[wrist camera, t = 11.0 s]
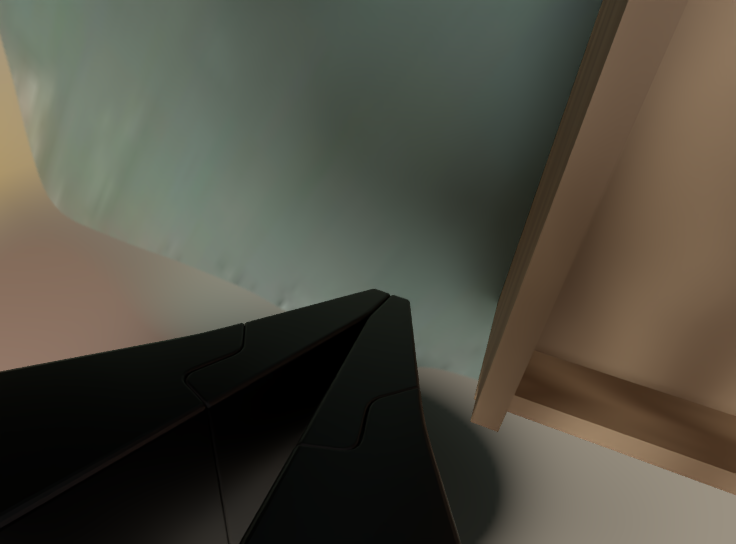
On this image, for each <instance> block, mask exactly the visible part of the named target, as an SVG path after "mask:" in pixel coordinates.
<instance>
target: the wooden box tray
mask: <svg viewBox="0 0 736 544" xmlns="http://www.w3.org/2000/svg"><path fill="white" fill-rule="evenodd" d="M474 399H475V400H476V401H475V405H474V409H473V413H472V417H471V422H473V423H476V424H478V425H481V426H483V427H486V428H489V429H491V430H494V431H497V432H498V431H499V428H500V426H501V424H502V422H503V419H504V417H505V415H506V412H510V413H513V414H515V415H518V416H522V417H524V418H526V419H529V420H532V421H535V422H538V423H540V424H543V425H546V426H548V427H551V428H554V429H557V430H559V431H562V432H565V433H568V434H570V435H573V436H576V437H578V438H582V439H584V440H587V441H589V442H592V443H595V444H598V445H601V446H603V447H606V448H609V449H611V450H614V451H617V452H619V453H622V454H625V455H628V456H630V457H633V458H636V459H639V460H641V461H644V462H647V463H650V464H652V465H655V466H658V467H661V468H663V469H666V470H669V471H672V472H674V473H677V474H680V475H682V476H685V477H688V478H691V479H693V480H696V481H699V482H702V483H705V484H707V485H710V486H713V487H715V488H718V489H721V490H724V491H726V492H729V493H732V494H734V495H736V0H603V1H602V4H601V7H600V10H599V13H598V16H597V19H596V21H595V24H594V27H593V30H592V33H591V36H590V39H589V42H588V44H587V47H586V50H585V53H584V56H583V59H582V62H581V65H580V68H579V70H578V73H577V76H576V79H575V82H574V85H573V88H572V91H571V93H570V96H569V99H568V102H567V105H566V108H565V111H564V114H563V117H562V119H561V122H560V125H559V128H558V131H557V134H556V137H555V140H554V143H553V145H552V148H551V151H550V154H549V157H548V160H547V163H546V166H545V168H544V171H543V174H542V177H541V180H540V183H539V186H538V189H537V192H536V194H535V197H534V200H533V203H532V206H531V209H530V212H529V215H528V217H527V220H526V223H525V226H524V229H523V232H522V235H521V238H520V241H519V243H518V246H517V249H516V252H515V255H514V258H513V261H512V264H511V266H510V269H509V272H508V275H507V278H506V281H505V284H504V287H503V290H502V292H501V295H500V298H499V301H498V304H497V308H496V312H495V316H494V320H493V324H492V328H491V332H490V336H489V340H488V344H487V348H486V352H485V356H484V360H483V364H482V368H481V373H480V377H479V381H478V385H477V389H476V393H475V397H474Z"/></svg>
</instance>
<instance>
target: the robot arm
mask: <svg viewBox="0 0 736 544" xmlns="http://www.w3.org/2000/svg"><path fill="white" fill-rule="evenodd" d="M0 544H461V542H460V538H459V535H458V532H457V529H456V526H455V522H454V519H453V516H452V513H451V509H450V506H449V503H448V499H447V496H446V493H445V490H444V486H443V483H442V480H441V477H440V473H439V470H438V467H437V464H436V460H435V457H434V454H433V451H432V447H431V444H430V440H429V436H428V432H427V429H426V424H425V419H424V413H423V407H422V400H421V392H420V388H419V378H418V370H417V361H416V352H415V343H414V334H413V326H412V317H411V308H410V302H409V300H407V299H405V298H401V297H398V296H395V295H392V296H390V294H388V293H386V292H383V291H380V290H377V289H370V290H367V291H363V292H359V293H355V294H352V295H348V296H344V297H340V298H336V299H333V300H329V301H325V302H321V303H318V304H314V305H310V306H306V307H303V308H299V309H295V310H291V311H287V312H284V313H280V314H276V315H273V316H268V317H265V318H261V319H257V320H253V321H250V322H246V323H245V325H244V324H243V323H240V324H236V325H233V326H229V327H225V328H220V329H217V330H212V331H208V332H204V333H200V334H195V335H190V336H186V337H181V338H175V339H171V340H166V341H160V342H155V343H149V344H144V345H139V346H133V347H128V348H123V349H118V350H112V351H107V352H101V353H96V354H91V355H85V356H80V357H75V358H70V359H64V360H59V361H54V362H48V363H43V364H37V365H32V366H27V367H22V368H16V369H11V370H6V371H1V372H0Z"/></svg>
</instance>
